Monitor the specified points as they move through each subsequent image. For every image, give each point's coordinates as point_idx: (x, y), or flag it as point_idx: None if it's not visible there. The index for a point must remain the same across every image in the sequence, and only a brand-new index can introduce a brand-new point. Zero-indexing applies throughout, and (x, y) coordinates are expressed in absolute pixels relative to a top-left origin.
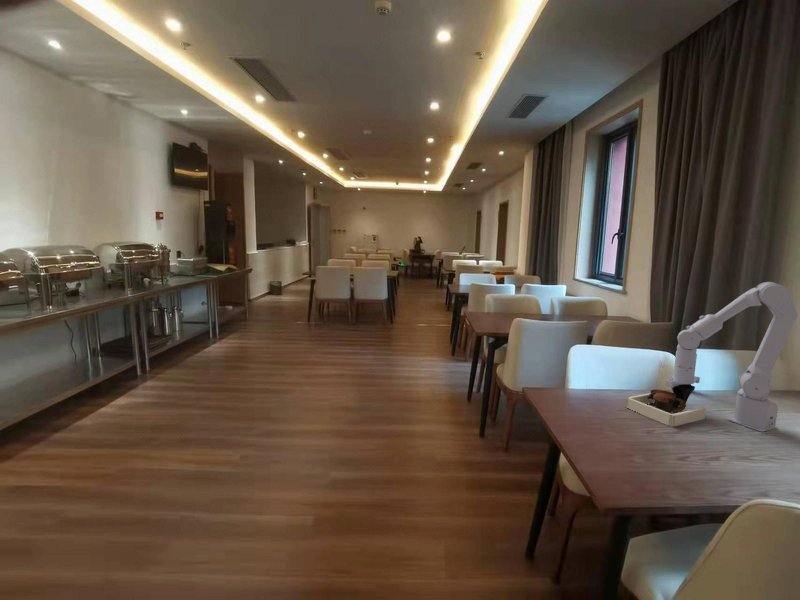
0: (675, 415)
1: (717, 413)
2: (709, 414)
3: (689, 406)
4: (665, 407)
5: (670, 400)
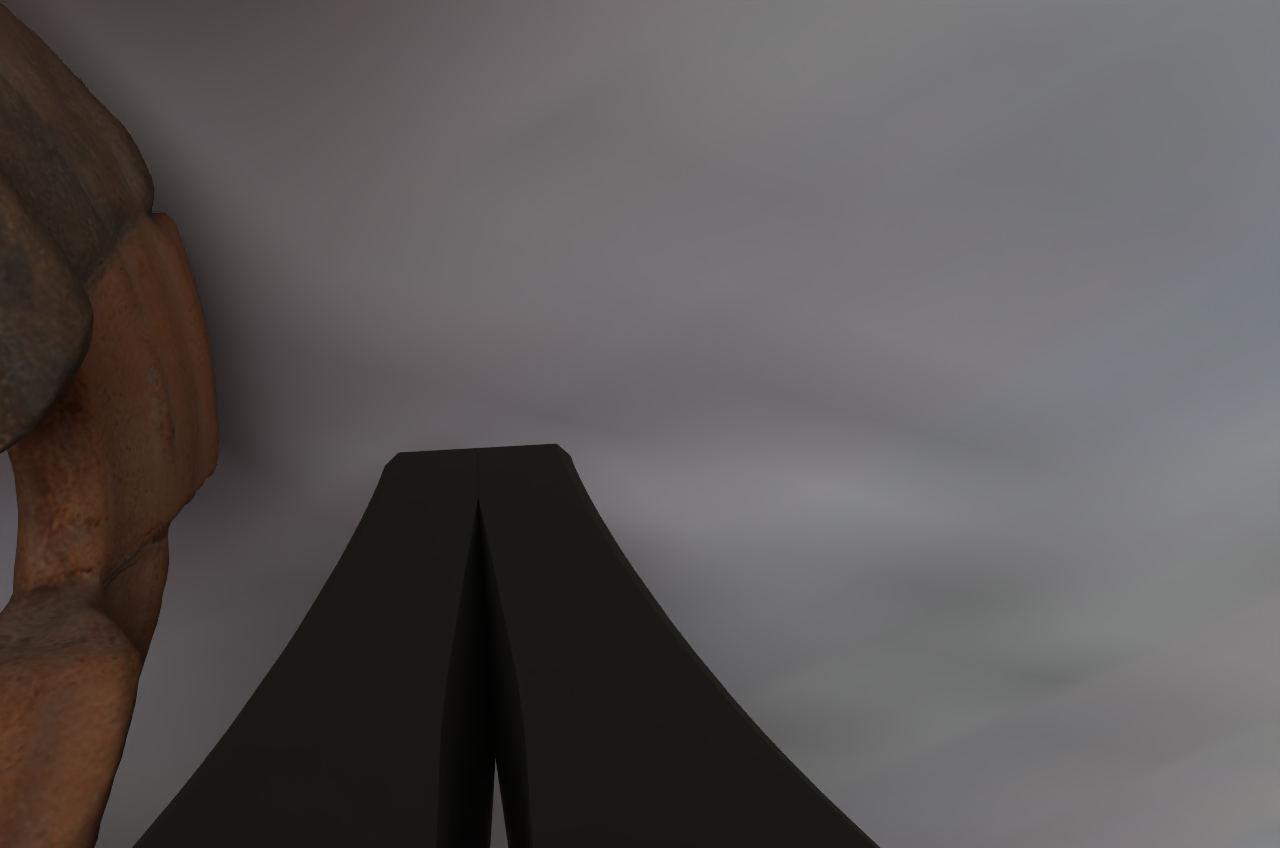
0: None
1: (1205, 826)
2: (952, 829)
3: (1161, 343)
4: None
5: (56, 489)
